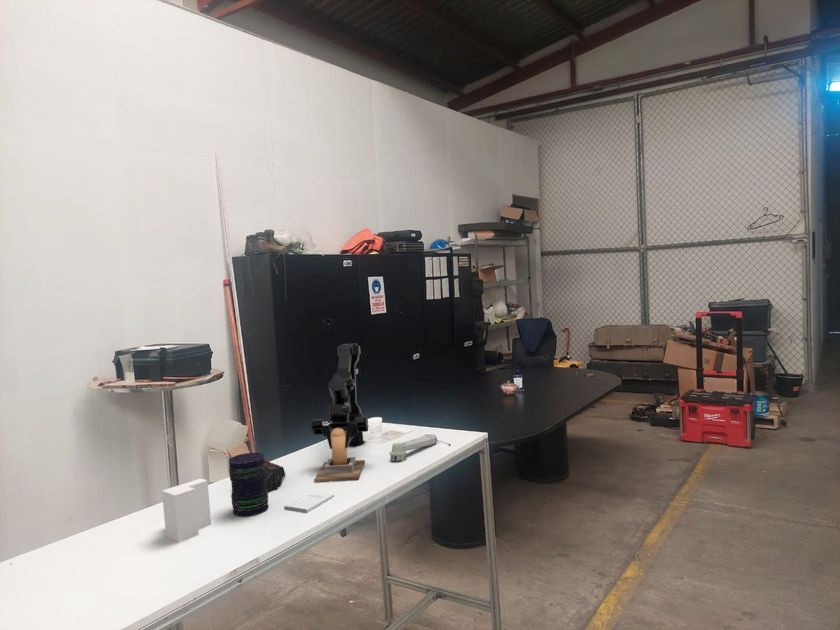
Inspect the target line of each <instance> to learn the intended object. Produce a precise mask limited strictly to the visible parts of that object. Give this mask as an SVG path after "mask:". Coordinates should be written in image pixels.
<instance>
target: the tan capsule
mask: <svg viewBox="0 0 840 630" xmlns="http://www.w3.org/2000/svg"><path fill="white" fill-rule="evenodd" d="M345 442H346V435H345V430H343V429H342V428H335V429H331V445H332V449H331V456H332V457H331V459H333V465H348V463H347V458H348V452H347V451H348V450H347V449H348V448H346V447H345Z"/></svg>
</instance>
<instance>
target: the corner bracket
mask: <svg viewBox="0 0 840 630" xmlns="http://www.w3.org/2000/svg"><path fill="white" fill-rule="evenodd" d="M161 493H162V494H161V495H162V496H161V497H162V506H163V508H162V509H163V517H164V518H163V520H164V529H165V537H167V538H168V539H170V540H172V541H175V542H176V543H178V544H179V543H181V542H185V541H186V540H189V539H191V538H195V537H197V536H199V535H200V534H199V530H201V529H204V528H206V527H209V526H211V525H212V520H211V519H212V518H211V516H212V515H211V505H210V495H209V483H208V480H207V479H204V478H198V479H195V480H191V481H189V482H186V483H183V484H179V485H176V486H173V487H169V488H166V489H163V490H161Z"/></svg>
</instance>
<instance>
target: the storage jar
mask: <svg viewBox="0 0 840 630" xmlns="http://www.w3.org/2000/svg"><path fill="white" fill-rule="evenodd" d="M265 457H266V456H265V454H264V453H261V452H248V453H241V454H237V455H234V456H232V457H230V458H228V464H229V465H228V466H229V467H228V474H229V481H230V482H231V493H230V494H231V495H230V497H231V505H232V509H233V510H232V514H233V515H234V516H236V517H240V518H245V517H246V518H247V517H248V518H249V517H254V516H257V515H260V514H262V513H263V514H264V513H265V512H267V510H268V509H269V493H268V490H267V487H266V480H265V475H266V464H265V460H266V459H265ZM264 459H265V460H264Z"/></svg>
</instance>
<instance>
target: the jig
mask: <svg viewBox="0 0 840 630" xmlns="http://www.w3.org/2000/svg"><path fill="white" fill-rule="evenodd" d="M347 463H348V465H333V459H332V458H328V460H327V461H324V463H323V464H322V466H321V467H320V469H319V470H318V472H317V473H316V476H315V478H314V482H316V483H330V482H329V481H333V482H344V481H346V482H347V480H350V481H359V480H360V478H361V475H362V472H363V469H364V466H365V464H366V460H365V459H358V460H356V457H347Z"/></svg>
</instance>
